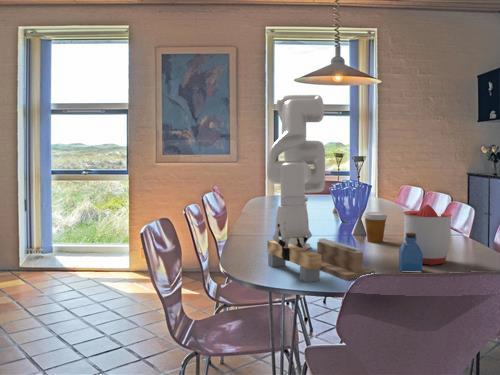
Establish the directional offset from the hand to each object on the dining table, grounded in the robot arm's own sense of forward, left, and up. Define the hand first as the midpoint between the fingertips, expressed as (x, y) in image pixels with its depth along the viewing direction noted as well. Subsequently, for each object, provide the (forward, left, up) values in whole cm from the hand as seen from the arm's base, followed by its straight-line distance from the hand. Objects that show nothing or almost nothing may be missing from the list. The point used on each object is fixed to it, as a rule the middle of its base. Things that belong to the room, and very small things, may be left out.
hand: (292, 258), depth 147 cm
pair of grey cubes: (0, 0, -4) cm, 4 cm away
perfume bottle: (+15, +35, -5) cm, 38 cm away
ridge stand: (+4, +15, -4) cm, 16 cm away
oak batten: (0, 0, 0) cm, 0 cm away
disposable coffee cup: (-28, +58, -5) cm, 64 cm away
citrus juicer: (+8, +50, -5) cm, 51 cm away
